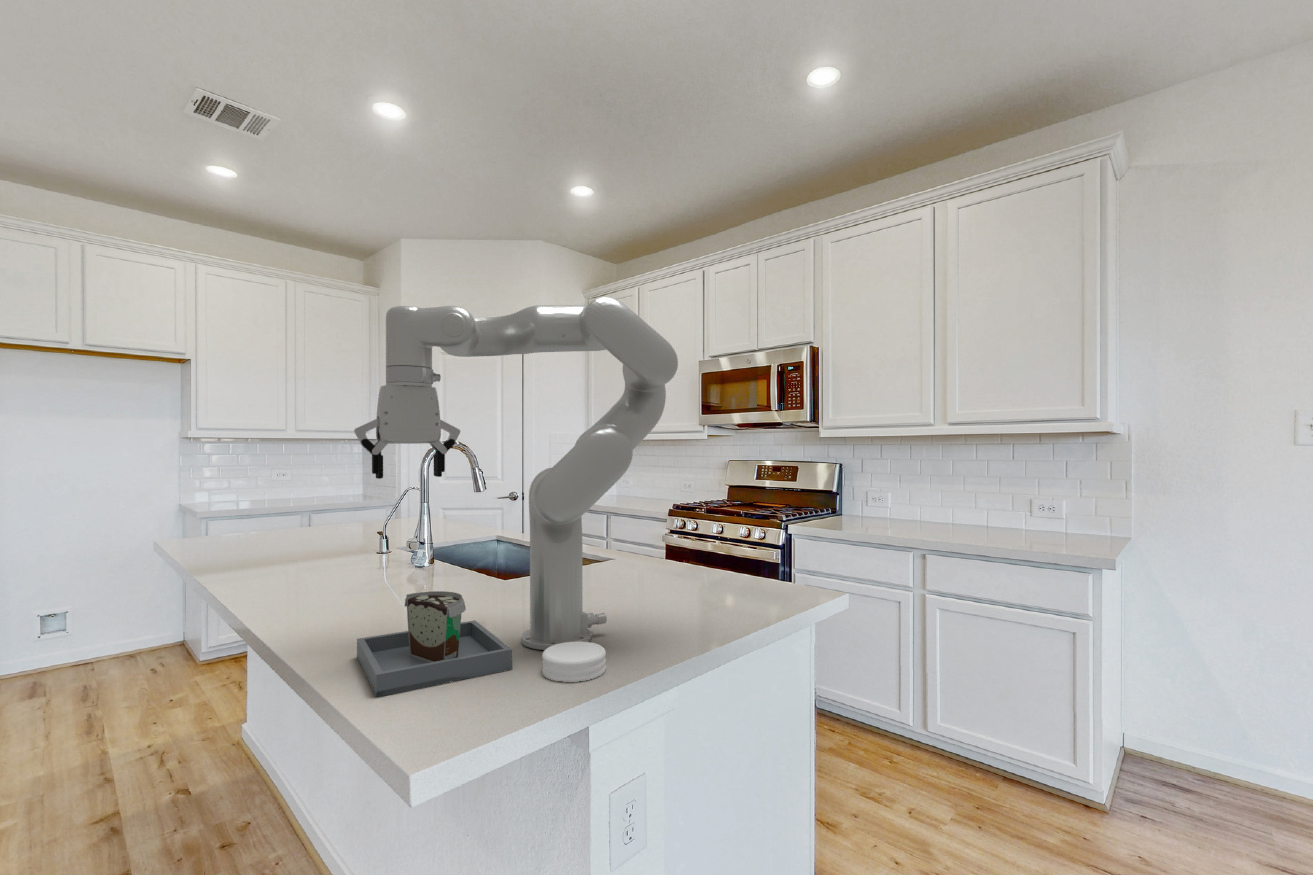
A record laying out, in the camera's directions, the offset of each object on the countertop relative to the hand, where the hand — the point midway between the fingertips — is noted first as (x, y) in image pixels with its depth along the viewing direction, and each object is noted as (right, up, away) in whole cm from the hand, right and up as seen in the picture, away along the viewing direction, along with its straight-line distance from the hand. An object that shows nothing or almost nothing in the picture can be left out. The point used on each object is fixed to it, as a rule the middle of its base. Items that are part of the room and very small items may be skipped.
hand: (409, 477), depth 109 cm
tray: (+6, -30, -6) cm, 31 cm away
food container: (+7, -30, -5) cm, 31 cm away
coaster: (+30, -31, -10) cm, 44 cm away
